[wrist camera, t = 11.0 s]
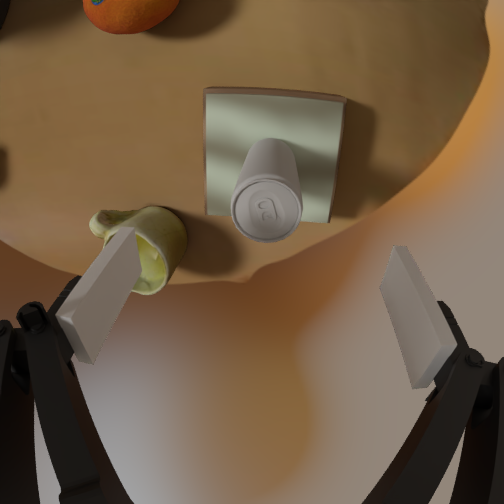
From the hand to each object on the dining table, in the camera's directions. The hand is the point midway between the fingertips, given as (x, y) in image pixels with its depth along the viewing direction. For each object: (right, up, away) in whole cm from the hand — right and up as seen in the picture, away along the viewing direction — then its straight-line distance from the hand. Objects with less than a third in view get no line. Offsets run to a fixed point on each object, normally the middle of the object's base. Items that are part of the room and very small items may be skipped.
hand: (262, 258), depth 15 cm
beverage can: (+1, +10, +15) cm, 18 cm away
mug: (-15, +4, +26) cm, 30 cm away
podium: (+2, +12, +19) cm, 22 cm away
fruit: (-12, +29, +9) cm, 33 cm away
